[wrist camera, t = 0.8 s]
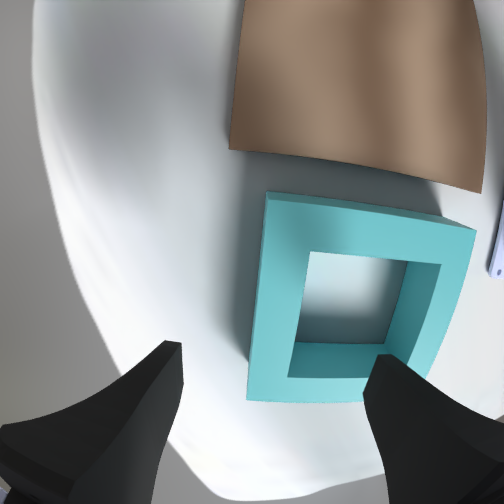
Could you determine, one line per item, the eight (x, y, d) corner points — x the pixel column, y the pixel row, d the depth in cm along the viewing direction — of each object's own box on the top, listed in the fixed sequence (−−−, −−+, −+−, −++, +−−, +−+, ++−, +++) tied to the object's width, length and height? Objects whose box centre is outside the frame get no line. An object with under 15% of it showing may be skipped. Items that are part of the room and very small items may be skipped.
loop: (443, 216, 15) (476, 230, 12) (398, 365, 19) (416, 396, 15) (266, 190, 15) (268, 199, 12) (248, 363, 19) (246, 400, 15)
